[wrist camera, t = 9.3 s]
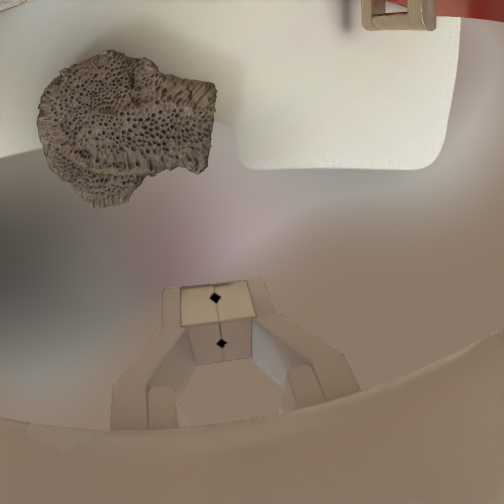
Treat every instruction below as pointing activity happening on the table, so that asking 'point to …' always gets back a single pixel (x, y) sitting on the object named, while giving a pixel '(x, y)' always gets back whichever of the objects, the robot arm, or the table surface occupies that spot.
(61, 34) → the table surface
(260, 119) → the table surface
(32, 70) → the table surface
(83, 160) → the rock
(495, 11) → the door
